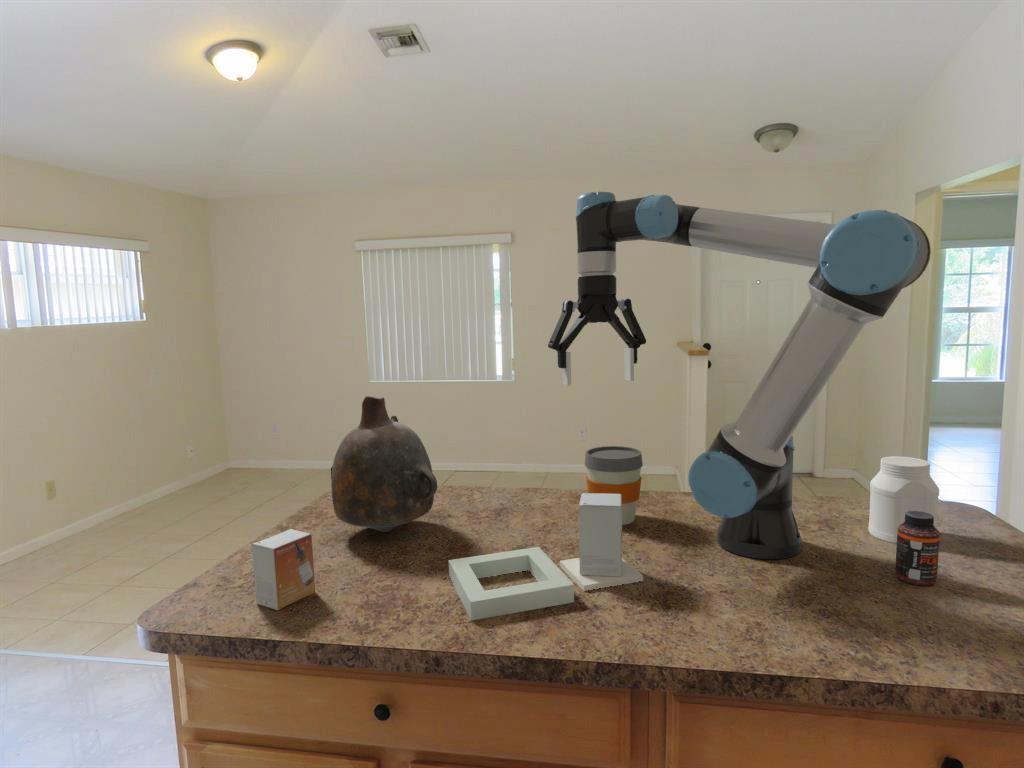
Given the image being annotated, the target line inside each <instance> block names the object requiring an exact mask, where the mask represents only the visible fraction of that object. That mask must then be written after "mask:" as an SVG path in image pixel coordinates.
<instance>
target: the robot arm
mask: <svg viewBox="0 0 1024 768" xmlns="http://www.w3.org/2000/svg"><path fill="white" fill-rule="evenodd" d="M575 222H576V235H577V236H576V238H577V242H576V243H577V254H576V255H577V273H578V274H579V275H580V276H578V278H577V296H578V298H577V301H572V300H564V301H563V302H562V308H561V309H562V310H561V314H560V316H559V318H558V321H557V323H556V325H555V328H554V330H553V332H552V335H551V337H550V339H549V341H548V343H547V347H548V348H549V349H552V350H555V351H556V352H557V367H558V368H559V369H561V370H562V371H561V372H562V373H561V376H562V379H561V380H562V385H563V386H564V385H565V386H568V387H569V386H572V372H571V371H572V360H571V359H572V358H571V354H572V353H571V351H567V350H568V349H569V348H570V346H571V345H572V343H573V342H574V341H575V339H576V338H577V337H578V336H579V334H580V332H581V331H582V330H583V329H584V328H585V326H587V325H588V323H589V324H595V323H607V324H609V325H610V326H611V327H612V328H613V330H614V331H615V332H616V333H617V335H618V336H619V337H620V338H621V339H622V340H623V342H624V344H626V346H627V347H624V348H623V361H624V362H623V367H624V368H623V372H624V373H623V375H624V380H625V381H628V382H634V381H635V365H636V364H637V363H638V349H639V348H640V347H641V346H642V345H645V344H646V343H647V339H646V336H645V334H644V332H643V330H642V328H641V326H640V323H639V322H638V319H637V317H636V315H635V313H634V310H633V306H632V300H631V299H630V298H621V299H620V300H617V277H616V275H614V273H616V272H617V243H621V242H630V241H633V242H634V241H650V242H659V243H667V244H673V245H679V246H680V245H681V246H686V247H692V248H693V247H694V248H699V249H704V250H711V251H715V252H717V251H718V252H722V253H723V252H724V253H727V254H728V253H729V254H732V255H733V254H734V255H740V256H746V257H752V258H757V259H763V260H769V261H775V262H780V263H781V262H782V263H787V264H792V265H798V266H803V267H809V268H814V269H815V270H814V272H813V274H812V275H811V277H810V279H809V280H808V282H807V287H808V290H809V293H810V298H809V300H808V302H807V304H805V307H804V309H803V310H802V312H801V313H800V315H799V317H798V319H797V320H796V322H795V323H794V325H793V327H792V329H791V330H790V331H789V334H787V337H786V338H785V340H784V341H783V344H782V345H781V347H780V348H779V350H778V352H777V353H776V355H775V356H774V358H773V360H772V361H771V363H770V365H769V367H768V368H767V369H766V371H765V373H764V374H763V376H762V378H761V380H760V382H759V383H758V385H757V386H756V388H755V390H754V391H753V393H752V394H751V396H750V398H749V399H748V401H747V403H746V405H745V406H744V408H743V410H742V411H741V413H740V414H739V416H738V418H737V419H736V421H734V422H730V423H726V424H723V425H722V427H721V428H720V430H719V431H718V433H717V434H716V436H715V438H714V439H713V441H712V443H710V446H709V448H708V449H707V451H706V452H703V453H701V454H699V455H698V456H697V457H696V458H695V459H694V461H692V463H691V465H690V467H689V470H688V475H687V479H688V486H689V488H690V490H691V495H692V497H693V498H694V499H695V502H697V504H698V505H699V506H700V507H701V508H702V509H703V510H705V511H706V512H708V513H710V514H711V515H713V516H716V517H719V518H721V521H720V524H719V526H718V528H717V533H716V534H717V535H716V536H717V540H716V541H717V544H718V545H719V546H720V547H721V548H723V549H724V550H726V551H727V552H730V553H732V554H735V555H739V556H742V557H746V558H752V559H757V560H758V559H761V560H781V559H789V558H791V557H794V556H796V555H798V554H799V553H800V552H801V550H802V536H801V534H800V530H799V527H798V523H797V521H796V517H795V515H794V512H793V481H794V480H793V478H794V477H793V475H794V451H795V446H794V437H793V434H794V433H795V432H796V430H797V428H798V427H799V425H800V424H801V422H802V421H803V419H804V418H805V416H806V414H807V413H808V411H809V410H810V409H811V407H812V405H813V404H814V403H815V401H816V400H817V398H818V396H819V395H820V393H821V392H822V390H823V389H824V388H825V386H826V385H827V383H828V381H829V380H830V378H831V377H832V375H833V374H834V372H835V371H836V369H837V368H838V366H839V365H840V364H841V361H842V360H843V359H844V357H845V356H846V354H847V353H848V352H849V349H850V348H851V346H852V345H853V343H854V342H855V340H856V339H857V337H858V335H859V334H861V331H862V329H863V328H865V327H864V326H865V325H866V324H868V323H870V322H874V321H878V320H881V319H883V318H884V316H885V315H886V313H887V312H888V310H889V309H890V308H891V306H892V304H893V303H894V302H895V300H896V298H898V296H899V294H900V293H901V291H902V290H903V289H905V288H907V287H909V286H911V285H912V284H913V283H915V282H916V281H917V280H918V279H919V278H921V276H922V275H923V274H924V272H925V271H926V269H927V268H928V265H929V263H930V260H931V254H932V251H931V250H932V249H931V248H932V247H931V243H930V240H929V237H928V235H927V233H926V232H925V231H924V230H923V229H922V227H921V226H919V225H918V224H917V223H916V222H914V221H911V220H909V219H907V218H906V217H904V216H903V215H902V216H901V215H900V214H899V213H898V212H897V213H896V212H895V213H894V212H892V211H888V210H883V209H873V210H871V209H870V210H864V211H861V212H857V213H854V214H851V215H849V216H847V217H846V218H844V219H842V220H841V221H839V222H837V224H836V223H828V222H827V223H826V222H821V221H820V222H818V221H812V220H803V219H796V218H788V217H787V218H786V217H781V216H772V215H771V216H770V215H763V214H756V213H749V212H739V211H732V210H723V209H714V208H709V207H699V206H693V205H685V204H684V205H683V204H678V203H676V202H675V201H674V200H673V198H672V197H671V196H670V195H668V194H659V195H658V194H656V195H654V194H651V195H650V194H649V195H647V196H643V197H637V198H630V199H623V200H617V199H616V196H615V194H614V193H613V192H610V191H593V192H590V191H589V192H585V193H583V194H581V195H579V196H578V197H577V201H576V215H575ZM576 309H577V310H578V312H579V315H578V316H577V317H576V319H575V321H574V323H573V324H572V326H571V327H570V328H569V329H568V331H567V332H566V334H565V331H566V329H567V328H568V325H569V323H570V321H571V317H572V315H573V313H574V312H575V311H576ZM617 309H618V310H620V311H621V314H622V316H623V319H624V320H625V322H626V325H627V326H628V329H629V330H628V329H627V327H626V326H625V325H624V323H623V322H621V320H620V319H621V318H620V317H618V314H616V312H615V311H616V310H617ZM564 334H565V335H564ZM634 364H635V365H634Z"/></svg>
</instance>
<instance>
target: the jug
mask: <svg viewBox="0 0 1024 768" xmlns="http://www.w3.org/2000/svg"><path fill="white" fill-rule="evenodd" d="M360 416H361V419H360V422H359V425H358V426H357V427H355V428H353V429H352V430H350V431H349V432H348V433H347V434H346V435H345V437H344V438H343V439H342V441H341V442H340V443H339V446H338V448H337V450H336V453H335V455H334V459H333V463H332V466H331V467H330V480H331V484H330V485H331V501H332V507H333V511H334V513H335V516H336V517H337V519H338V520H339V521H341V522H343V523H345V524H348V525H351V526H355V527H362V528H368V529H371V530H376V531H379V532H381V533H388V532H390V531H392V530H394V528H396V527H398V526H401V525H402V526H403V525H404V524H407V523H410V522H411V521H414V520H416V519H418V518H419V519H420V518H421V517H423V516H424V515H426V514H427V513H429V512H430V511H431V509H432V507H433V504H434V500H435V499H434V498H435V494H436V492H437V489H438V481H437V477H436V476H435V474H434V473H433V469H432V464H431V460H430V457H429V455H428V452H427V450H426V448H425V445H424V444H423V442H422V440H421V438H420V437H419V436H418V434H417V433H416V432H415V431H414V430H413V429H412V428H410V427H409V426H407V425H406V424H403V423H401V422H399V419H398V416H396V415H391V417H389V415H388V411H387V408H386V400H385V398H384V397H383V396H382V397H376V396H372V395H366V396H365V397H364V398H363V401H362V402H361V415H360Z"/></svg>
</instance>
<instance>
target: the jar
mask: <svg viewBox="0 0 1024 768" xmlns="http://www.w3.org/2000/svg"><path fill="white" fill-rule="evenodd" d="M930 467H931V462H929V461H928V460H926V459H922V458H917V457H911V456H900V455H893V456H883V457H882V458H881V459H880V469H879V471H878V472H877V474H875V476H874V477H873V478H872V479H871V480H870V483H869V487H870V493H869V494H870V497H869V515H868V517H869V519H868V521H869V522H868V529H867V530H868V532H869V534H870V535H871V536H872V537H875V538H877V539H879V540H882V541H884V542H887V543H892V544H897V531H898V526H899V525H900V524H902V523H904V522H905V513H906V512H907V511H921V512H926V513H929V514H931V515H933V516H934V524H933V525H934V527H935V528H936V529H937V528H938V527H937V525H938V509H939V496H940V488H939V486H938V485H937V483H936V482H935V480H934V479H933V478H932V477H931V474H930V473H931V468H930ZM937 530H938V529H937Z"/></svg>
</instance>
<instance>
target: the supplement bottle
mask: <svg viewBox="0 0 1024 768" xmlns="http://www.w3.org/2000/svg"><path fill="white" fill-rule="evenodd" d="M933 524H934V516H933V515H931V514H929V513H926V512H921V511H907V512H906V513H905V522H904V523H902V524H900V525H899V526H898V531H897V543H896V547H895V548H896V550H895V552H896V553H895V571H894V573H895V576H896V577H897V578H898V579H899V580H901V581H903V582H905V583H908V584H911V585H915V586H922V587H923V586H924V587H925V586H932V585H935V584H936V583H937V580H938V579H937V577H938V569H939V553H940V551H939V550H940V537H941V536H940V535H941V533H940V531H939V530H938V529H936V528H935V527H934V525H933Z"/></svg>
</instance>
